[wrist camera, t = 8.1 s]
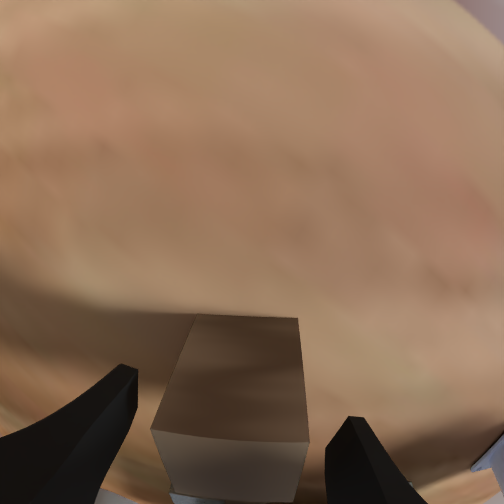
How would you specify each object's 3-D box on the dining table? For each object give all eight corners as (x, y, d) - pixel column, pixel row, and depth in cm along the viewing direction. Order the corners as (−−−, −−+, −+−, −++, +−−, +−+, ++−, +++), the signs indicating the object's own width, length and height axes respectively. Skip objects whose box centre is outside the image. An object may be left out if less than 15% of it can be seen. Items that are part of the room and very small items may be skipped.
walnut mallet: (297, 318, 12) (309, 442, 6) (272, 509, 19) (269, 569, 13) (197, 313, 12) (149, 428, 7) (223, 506, 19) (214, 565, 13)
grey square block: (226, 483, 18) (224, 501, 16) (228, 502, 19) (226, 517, 18) (173, 476, 18) (168, 492, 17) (181, 496, 19) (177, 510, 18)
